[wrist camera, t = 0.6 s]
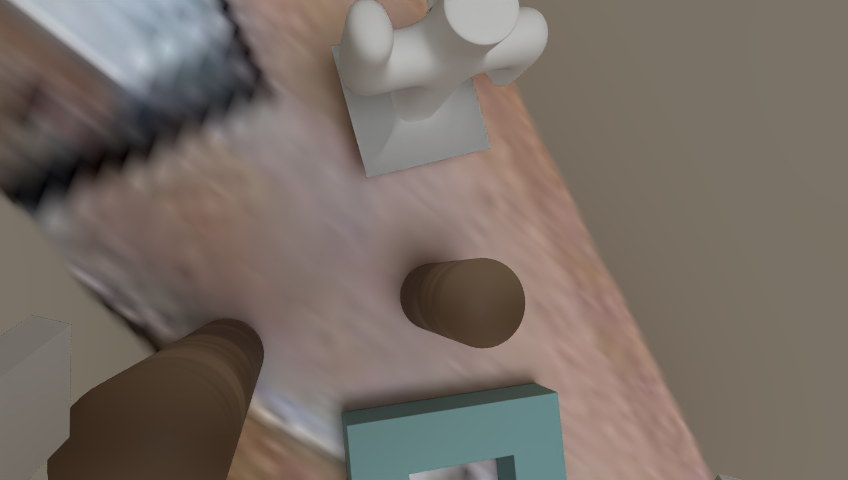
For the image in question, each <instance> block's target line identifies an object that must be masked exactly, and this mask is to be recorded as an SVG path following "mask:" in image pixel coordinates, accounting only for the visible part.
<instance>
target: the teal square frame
mask: <svg viewBox="0 0 848 480" xmlns="http://www.w3.org/2000/svg"><path fill="white" fill-rule="evenodd" d="M342 421H343V432H344V444H345V456H346V467H347V479H348V480H409V474H412V473H418V472H423V471H429V470H434V469H439V468H445V467H450V466H456V465H461V464H467V463H472V462H477V461H483V460H488V459H494V458H497V469H498V479H499V480H567V479H566V470H565V460H564V450H563V441H562V431H561V421H560V412H559V402H558V393H557V392H555V391H553V390H550V389H548V388H546V387H543V386H541V385H539V384H536V383H532V384H525V385H519V386H512V387H506V388H499V389H493V390H486V391H480V392H473V393H466V394H460V395H453V396H447V397H440V398H434V399H427V400H421V401H414V402H408V403H401V404H394V405H388V406H381V407H375V408H368V409H362V410H355V411H349V412H342Z"/></svg>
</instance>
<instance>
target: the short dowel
mask: <svg viewBox="0 0 848 480" xmlns="http://www.w3.org/2000/svg"><path fill="white" fill-rule="evenodd" d="M401 305H402V309H403V311H404V313H405V315H406V316H407V318H408V319H409V320H410V321H411V322H412V323H413V324H415V325H416V326H418V327H420V328H422V329H425V330H428V331H431V332H433V333H436V334H439V335H441V336H444V337H447V338H449V339H452V340H455V341H457V342H460V343H463V344H466V345H468V346H471V347H475V348H490V347H494V346H497V345H499V344H501V343H503V342H505V341H506V340H508V339H509V338H510V337H511V336H512V335H513V334H514V333H515V332H516V330H517V329H518V327H519V325H520V323H521V321H522V318H523V316H524V311H525V296H524V291H523V288H522V285H521V283H520V281H519V279H518V277H517V276H516V275H515V273H514V272H513V271H512V270H511V269H510V268H509V267H507V266H506V265H504V264H503V263H501V262H499V261H496V260H493V259H488V258H477V259H468V260H459V261H450V262H440V263H431V264H425V265H422V266H420V267H418V268H416V269H414V270H413V271H412V272H411V273H410V274H409V275H408V276H407V278H406V279H405V281H404V283H403V286H402V289H401Z"/></svg>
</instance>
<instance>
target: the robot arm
mask: <svg viewBox="0 0 848 480" xmlns="http://www.w3.org/2000/svg"><path fill="white" fill-rule="evenodd" d="M70 373H71V324H68V323H64V322H60V321H55V320H51V319H47V318H42V317H38V316H33V315H32V316H30V317H29V318H27V319H26V320H24V321H23V322H21V323H20V324H18V325H16V326H15V327H14V328H12V329H10V330H9V331H7V332H6V333H4V334H3V335H1V336H0V480H28V479H29V478H30V477H31V476H32V475H33V474H34V473H35V472H36V471H37V470H38V469H39V468H40V466H42V465H43V464H44V463H45V462H46V461H47V460H48V459H49V457H50V456H51V455H52V454H53V453H54V452H55V451H56V450H57V449H58V448H59V447H60V446H61V445H62V444H63V443H64V442H65V441H66V440H67V439H68V438H69V434H70V378H71V377H70V375H71V374H70ZM715 480H743V479H738V478H734V477H730V476H725V475H721V474H718V475H717V477H716V479H715Z"/></svg>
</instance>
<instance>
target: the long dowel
mask: <svg viewBox="0 0 848 480" xmlns="http://www.w3.org/2000/svg"><path fill="white" fill-rule="evenodd" d="M263 358H264V350H263V345H262V341H261V339H260V337H259V336H258V334H257V333H256V332H255V330H254V329H253V328H251V327H250V326H249V325H247V324H245V323H243V322H241V321H238V320H234V319H222V320H217V321H214V322H211V323H209V324H207V325H205V326H204V327H202V328H200V329H198V330H196V331H195V332H193V333H191V334H189V335H187V336H186V337H184V338H182V339H180V340H178V341H177V342H175V343H173V344H171V345H169V346H168V347H166V348H164V349H162V350H160V351H159V352H157V353H155V354H153V355H151V356H150V357H148V358H146V359H144V360H142V361H141V362H139V363H137V364H135V365H133V366H132V367H130V368H128V369H126V370H124V371H123V372H121V373H119V374H117V375H115V376H114V377H112V378H110V379H108V380H107V381H105V382H103V383H101V384H99V385H98V386H96V387H95V388H93V389H91V390H90V391H88V392H87V393H86V394H85V395H83V396H82V397H81V398H80V399H79V400H78V401H77V402H76V403H75V404H74V405H72V407H71V408H70V434H69V438H68V439H67V440H66V441H65V442H64V443H63V444H62V445H61V446H60V447H59V448H58V449H57V450H56V451H55V452H54V453H53V454H52V455H51V456H50V457H49V459H48V461H47V463H48V464H47V473H48V480H226V478H227V475H228V472H229V469H230V465H231V462H232V459H233V456H234V453H235V449H236V446H237V443H238V440H239V437H240V434H241V430H242V427H243V424H244V421H245V418H246V414H247V411H248V408H249V405H250V402H251V399H252V395H253V392H254V389H255V386H256V383H257V379H258V376H259V373H260V370H261V367H262V363H263Z"/></svg>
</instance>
